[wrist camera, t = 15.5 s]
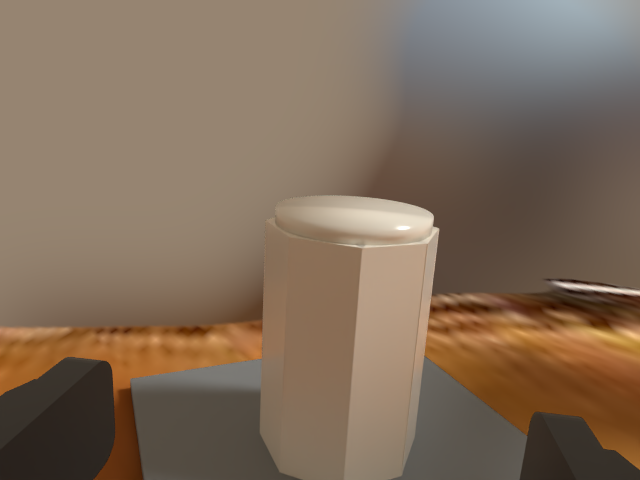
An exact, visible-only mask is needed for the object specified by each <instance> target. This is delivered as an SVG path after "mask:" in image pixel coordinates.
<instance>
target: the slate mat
mask: <svg viewBox="0 0 640 480" xmlns="http://www.w3.org/2000/svg"><path fill="white" fill-rule="evenodd" d="M261 368H262V359H257V360H250V361H244V362H237V363H231V364H224V365H218V366H211V367H205V368H198V369H192V370H185V371H179V372H172V373H166V374H159V375H153V376H146V377H139V378H133V379H130V382H131V394H132V402H133V409H134V416H135V423H136V431H137V438H138V445H139V453H140V460H141V467H142V474H143V480H302V479H299V478H296V477H293V476H289V475H286V474H283V473H280V472H279V470H278V468H277V466H276V464H275V462H274V460H273V458H272V456H271V454H270V452H269V450H268V448H267V446H266V444H265V442H264V440H263V438H262V436H261V434H260V403H261ZM526 442H527V436H526V435H525V434H524V433H523V432H521V431H520V430H519V429H517V428H516V427H515V426H514V425H512V424H511V423H510V422H509V421H507V420H506V419H505V418H503V417H502V416H501V415H500V414H498V413H497V412H496V411H494V410H493V409H492V408H491V407H489V406H488V405H487V404H486V403H484V402H483V401H482V400H480V399H479V398H478V397H477V396H475V395H474V394H473V393H471V392H470V391H469V390H468V389H466V388H465V387H464V386H463V385H461V384H460V383H459V382H457V381H456V380H455V379H454V378H452V377H451V376H450V375H448V374H447V373H446V372H445V371H443V370H442V369H441V368H440V367H438V366H437V365H436V364H434V363H433V362H432V361H431V360H429V359H428V358H427V357H425V356H424V361H423V369H422V378H421V386H420V395H419V403H418V412H417V420H416V429H415V437H414V440H413V443H412V446H411V449H410V452H409V455H408V458H407V461H406V464H405V467H404V470H403V473H402V476H400V477H396V478H393V479H389V480H520V474H521V469H522V463H523V458H524V453H525V447H526Z"/></svg>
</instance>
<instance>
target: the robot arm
mask: <svg viewBox="0 0 640 480" xmlns="http://www.w3.org/2000/svg"><path fill="white" fill-rule="evenodd" d="M114 438H115V418H114V397H113V377H112V369H111V366H110V364H109V363H108V362H107V361H101V360H92V359H84V358H75V357H67V358H64V359H63V360H61V361H60V362H59V363H58V364H56V365H55V366H54V367H52V368H51V369H50V370H49V371H47V372H46V373H45V374H43V375H42V376H41V377H39V378H38V379H34V380H32V381H30V382H27V383H25V384H23V385H21V386H19V387H16V388H14V389H12V390H10V391H7V392H5V393H4V394H3V395H1V396H0V480H93V479H94V478H95V477H96V475H97V474H98V473H99V472H100V470H101V469H102V468H103V466H104V465H105V463H106V462H107V460H108V458H109V456H110V453H111V451H112V447H113V443H114ZM520 480H640V470H639V469H637V468H636V467H635V466H634V465H632V464H631V463H630V462H629V461H628V460H626V459H625V458H624V457H623V456H621V455H620V454H619V453H618V452H616V451H615V450H607V449H603V448H602V446H601V445H600V443H599V442H598V440H597V438H596V437H595V435H594V434H593V432H592V431H591V429H590V428H589V426H588V425H587V423H586V422H585V421H584V419H583V418H581V417H578V416H569V415H560V414H552V413H543V412H535V413H534V414H533V416H532V418H531V421H530V426H529V431H528V436H527V442H526V447H525V453H524V458H523V463H522V469H521V474H520Z"/></svg>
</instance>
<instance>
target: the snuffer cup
mask: <svg viewBox="0 0 640 480" xmlns="http://www.w3.org/2000/svg"><path fill="white" fill-rule="evenodd" d="M433 219H434V217H433V215H432V213H430V212H429V211H427V210H425V209H422V208H420V207H417V206H414V205H410V204H406V203H401V202H395V201H391V200H384V199H377V198H368V197H354V196H305V197H296V198H291V199H287V200H283V201H281V202H279V203H277V204H276V210H275V217H273V218H271V219H268V220H266V227H265V262H264V263H265V264H264V298H263V299H264V300H263V333H262V368H261V403H260V434H261V436H262V438H263V440H264V442H265V444H266V446H267V448H268V450H269V452H270V454H271V456H272V458H273V460H274V462H275V464H276V466H277V468H278V470H279V472H280V473H283V474H286V475H289V476H293V477H296V478H299V479H302V480H389V479H393V478H396V477H400V476H402V473H403V470H404V467H405V464H406V461H407V458H408V455H409V452H410V449H411V446H412V443H413V440H414V437H415V429H416V420H417V412H418V403H419V395H420V386H421V378H422V369H423V361H424V352H425V344H426V335H427V327H428V319H429V310H430V302H431V293H432V284H433V276H434V268H435V259H436V251H437V242H438V233H439V229H438V228H435V227H433Z"/></svg>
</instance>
